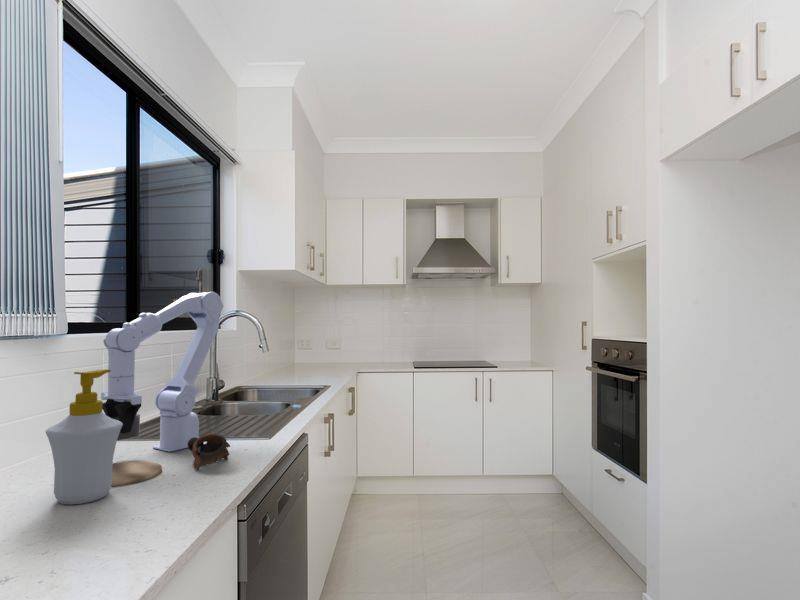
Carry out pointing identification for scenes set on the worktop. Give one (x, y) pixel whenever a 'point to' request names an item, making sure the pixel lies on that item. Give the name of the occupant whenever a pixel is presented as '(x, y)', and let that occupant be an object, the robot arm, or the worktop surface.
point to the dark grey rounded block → (134, 431)
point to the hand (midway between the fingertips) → (120, 431)
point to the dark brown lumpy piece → (208, 449)
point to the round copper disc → (134, 472)
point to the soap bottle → (84, 447)
